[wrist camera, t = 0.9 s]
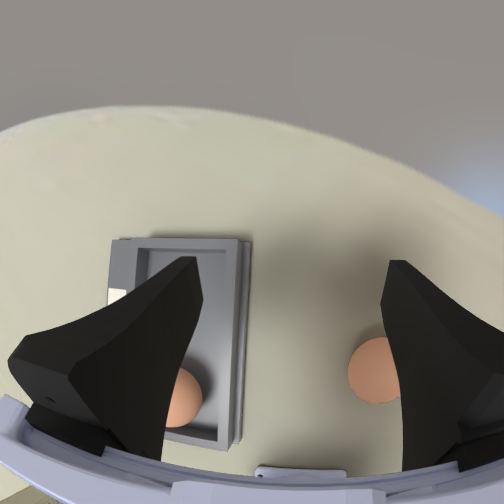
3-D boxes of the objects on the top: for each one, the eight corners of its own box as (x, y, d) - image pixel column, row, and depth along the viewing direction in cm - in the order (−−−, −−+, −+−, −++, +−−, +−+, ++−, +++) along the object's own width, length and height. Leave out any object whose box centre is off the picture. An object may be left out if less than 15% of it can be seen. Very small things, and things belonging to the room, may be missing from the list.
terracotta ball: (398, 391, 22) (417, 410, 17) (341, 393, 22) (348, 414, 18) (404, 333, 22) (426, 340, 17) (346, 333, 23) (355, 341, 18)
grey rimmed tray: (240, 439, 23) (232, 454, 20) (113, 411, 25) (95, 419, 23) (251, 243, 26) (243, 236, 23) (117, 241, 28) (99, 235, 25)
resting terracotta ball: (210, 420, 23) (188, 443, 18) (156, 409, 24) (127, 427, 19) (211, 364, 24) (189, 378, 19) (156, 356, 25) (125, 366, 20)
